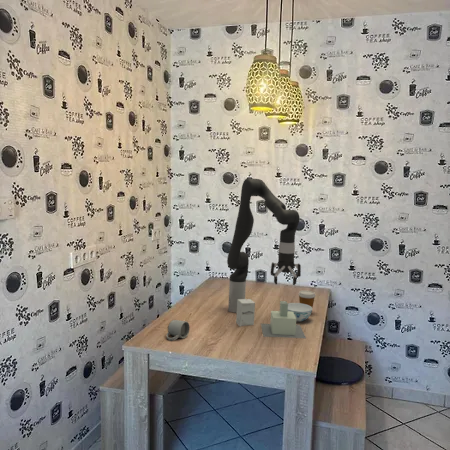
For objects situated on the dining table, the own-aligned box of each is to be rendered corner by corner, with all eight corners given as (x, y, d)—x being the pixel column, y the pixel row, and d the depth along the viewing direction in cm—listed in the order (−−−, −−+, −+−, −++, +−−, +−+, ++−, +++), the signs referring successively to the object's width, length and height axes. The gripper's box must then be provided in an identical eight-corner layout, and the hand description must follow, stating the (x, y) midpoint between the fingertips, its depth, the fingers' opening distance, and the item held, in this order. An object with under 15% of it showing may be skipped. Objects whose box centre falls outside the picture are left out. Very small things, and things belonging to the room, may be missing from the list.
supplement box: (240, 327, 216) (241, 303, 215) (235, 322, 224) (236, 298, 222) (254, 326, 218) (255, 302, 217) (249, 322, 226) (250, 298, 224)
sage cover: (272, 334, 206) (273, 305, 205) (270, 326, 217) (271, 299, 216) (295, 335, 206) (297, 306, 205) (292, 327, 217) (293, 299, 216)
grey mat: (263, 338, 203) (263, 336, 203) (260, 325, 221) (260, 323, 221) (306, 340, 203) (306, 338, 203) (299, 326, 221) (299, 325, 221)
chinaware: (301, 315, 239) (302, 301, 239) (317, 324, 226) (318, 310, 225) (277, 317, 234) (278, 303, 233) (291, 327, 220) (292, 312, 219)
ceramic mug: (175, 331, 207) (175, 316, 206) (189, 335, 204) (190, 319, 203) (162, 339, 198) (162, 323, 197) (176, 343, 194) (177, 326, 193)
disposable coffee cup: (314, 316, 238) (315, 295, 237) (296, 315, 240) (298, 293, 239) (314, 311, 247) (315, 291, 246) (297, 309, 249) (298, 289, 248)
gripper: (272, 252, 204) (270, 285, 206) (302, 253, 204) (300, 287, 205) (271, 249, 211) (269, 282, 213) (300, 250, 211) (298, 283, 213)
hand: (284, 284), depth 209 cm, fingers open, 8 cm apart
